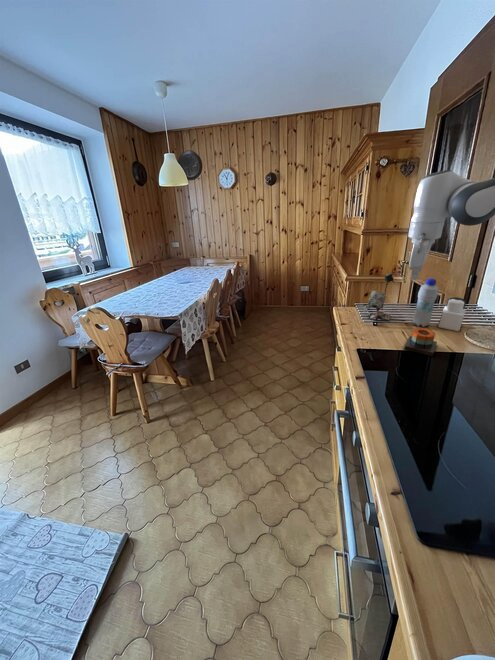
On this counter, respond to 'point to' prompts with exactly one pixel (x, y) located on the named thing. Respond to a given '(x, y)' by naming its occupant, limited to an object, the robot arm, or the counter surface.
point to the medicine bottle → (453, 314)
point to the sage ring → (422, 341)
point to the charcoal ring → (420, 345)
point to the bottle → (425, 303)
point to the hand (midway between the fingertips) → (415, 275)
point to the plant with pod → (379, 301)
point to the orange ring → (427, 337)
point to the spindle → (419, 350)
